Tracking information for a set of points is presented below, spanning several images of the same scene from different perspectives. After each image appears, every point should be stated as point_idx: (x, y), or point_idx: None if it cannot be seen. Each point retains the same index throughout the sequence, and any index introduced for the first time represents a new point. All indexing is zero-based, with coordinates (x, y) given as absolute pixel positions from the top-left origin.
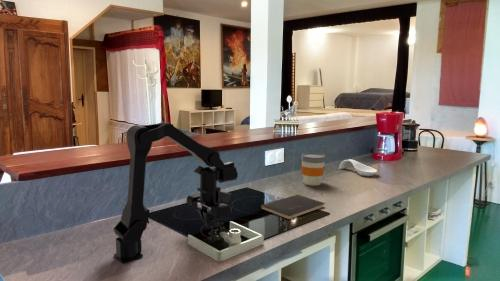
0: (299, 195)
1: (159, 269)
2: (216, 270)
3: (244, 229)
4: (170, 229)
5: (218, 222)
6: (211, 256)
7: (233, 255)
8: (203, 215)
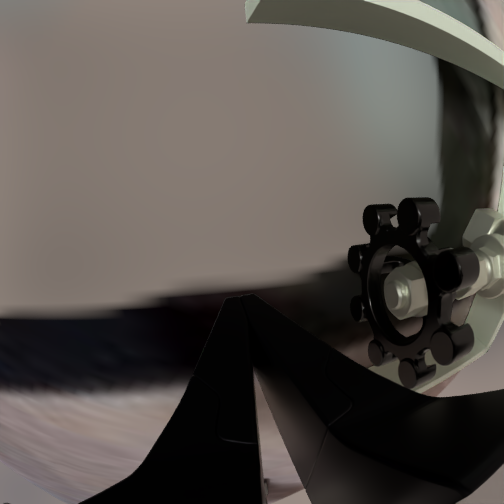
0: None
1: None
2: None
3: (470, 50)
4: (47, 400)
5: (473, 343)
6: None
7: None
8: (314, 501)
